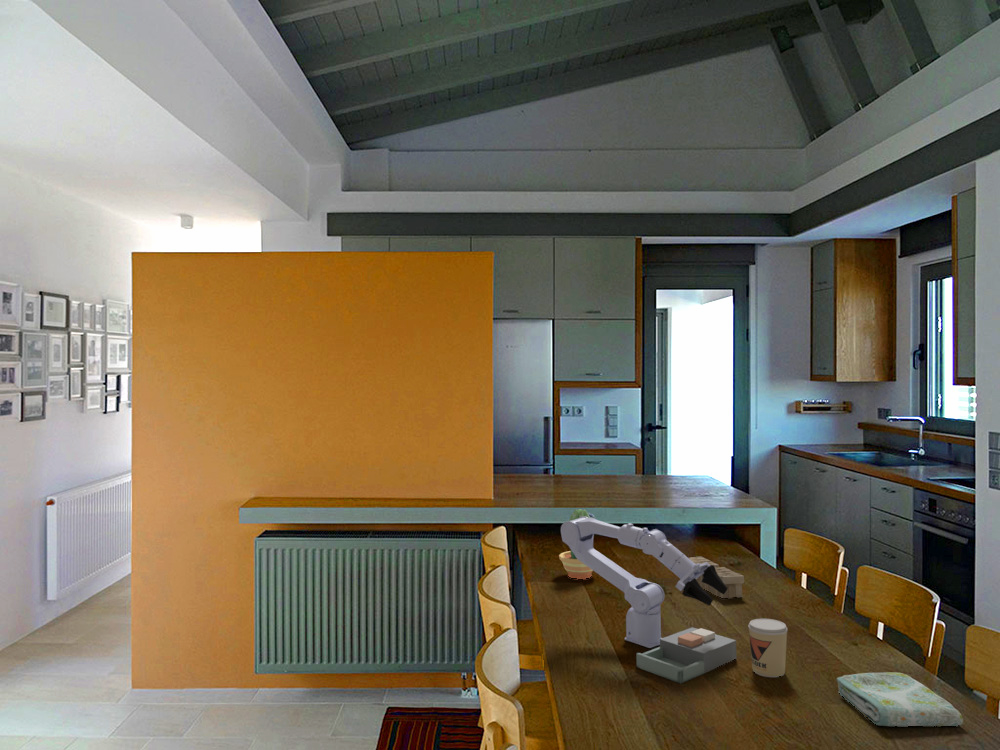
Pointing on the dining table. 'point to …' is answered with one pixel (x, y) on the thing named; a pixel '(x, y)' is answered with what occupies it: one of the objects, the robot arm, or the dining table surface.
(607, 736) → the dining table surface
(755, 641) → the coffee cup
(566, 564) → the potted cactus
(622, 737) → the dining table surface
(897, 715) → the towel
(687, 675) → the grey-green drawer
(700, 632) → the cream tile
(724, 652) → the grey drawer housing
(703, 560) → the block tower
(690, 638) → the terracotta tile
